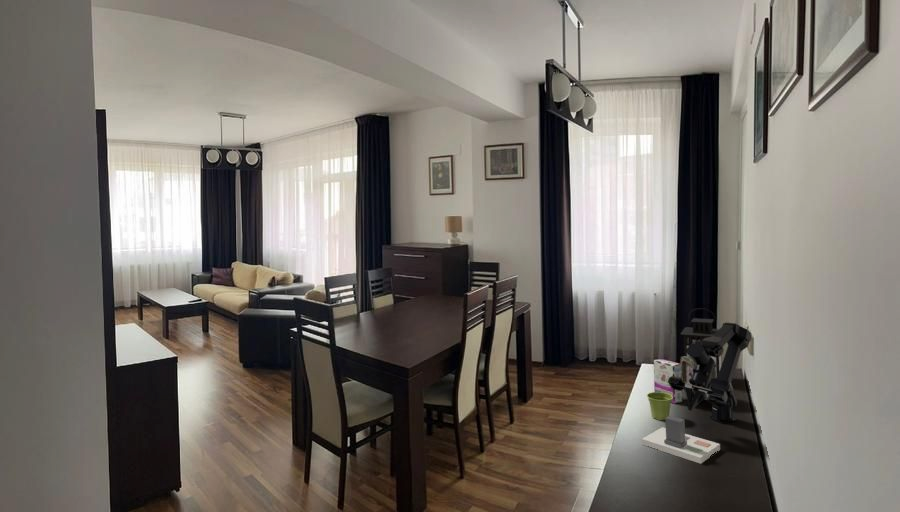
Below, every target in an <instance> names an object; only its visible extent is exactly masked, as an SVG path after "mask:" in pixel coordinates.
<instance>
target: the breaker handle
mask: <svg viewBox="0 0 900 512" xmlns="http://www.w3.org/2000/svg"><path fill="white" fill-rule="evenodd" d="M685 423H686V422H685V419H684V418H680V417H676V416H672V415H669V416H668V417H667V418H666V420H665V428H666V439H665V440H664V443H666V444H669V445H672V446H675V447H679V448H682V447H683V446H685V445H686V444H687V441H685V434H686V425H685Z"/></svg>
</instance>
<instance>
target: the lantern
mask: <svg viewBox="0 0 900 512" xmlns="http://www.w3.org/2000/svg"><path fill="white" fill-rule="evenodd" d="M695 310H705V311H708V312H710V313H711V314H712V315H713V316H714V318H712V319H711V318H696V317H694V318H692V320H691V319H690V317H688V320H689V321H690V322H691V323H692V327H688V326H686V327H684V329H683V330H682V331H681V333H680V335H683V351H684V355H683V356H689V355H688V354H687V348H688V347H689V346H690V345H691V344H693V341H701V340H703V339H704V338H708V337H712V336H713V335H714V334H715V333H716V332H717V331H718V330H719V329H720V328H713V323H715V322H716V315H715V314H714V312H712V311H711V310H710V309H707V308H702V307H700V308H694V309H692V310H691V311H690V312H689V313H688V316H691V313H692V312H694V311H695ZM694 343H695V342H694ZM709 357H711V356H709ZM711 358H712V359H714V361H715V364H716V367H715V369H716V378H717V377H718V375H719V371H720V368H721V365H722V362H723V359H722V358H723V354H722V355H721V356H720V357H719V358H717V357H711Z"/></svg>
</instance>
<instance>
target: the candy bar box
mask: <svg viewBox="0 0 900 512" xmlns="http://www.w3.org/2000/svg"><path fill="white" fill-rule="evenodd" d="M671 376H674V377H678V378H681V379H682V367H681V364H680V362H679V363H678V362H674V361H671V360H668V359H663V358H658V359H654V360H653V383H654V385H653V386H654V392H663V393H667V394H670V395H672V396H673V399H672V401H671V403H672V404H679V403H683V390H681V391H679V390H675V389H672V388H671V386H670V385H669V383H668V379H669V378H670V377H671Z"/></svg>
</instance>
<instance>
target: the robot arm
mask: <svg viewBox="0 0 900 512" xmlns="http://www.w3.org/2000/svg"><path fill="white" fill-rule="evenodd" d="M718 329H719V330H718V331H717V332H716V333H715V334H714V335H713V336H712V337H708V338H704V339H703V340H701V341H695V343H694V344H691V345H690V346H689V347H688V348H687V354H688V355H689V357H690V358H691V359H692V361H693V362H694V363H695V364H696V365H695V368H694V369H693V370H692V371H693V374H692V377H691V379H689V382H690V383H684V382H683V381H682V379H681V378H678V377H674V376H671V377H670V378H669V379H668V383H669V385H670V386H671V388H672V389H675V390H679V391H681V390H682V391H683V390H684V393H685V392H686V394H685V395H686V397H687V399H686V400H687V409H688V410H687V411H688V412H692V411H694V410H695V408H696V407H697V406H698V405H699V404H700V403H701V402H702V401H704V400H705V401H708V403H711V404H712V407H711V415H710V416H709V418H710V419H712V420H715V421H716V422H718V423H721V424H727V423H731V422H737V419H736V418H734V417H733V408H737V405H738V398H737V397H736V395H735V393H734V388H733V385H732V381H733V378H734V375H735V372H736V370H737V369H736V368H737V365H738V362H739V359H740V356H741V352H742V351H743V350H745V349H747V348H748V346H749V345H750V342H751V341H752V337H753V336H752V333H751V331H750V330H749V329H747V328H745V327H743V326H740V325H739V324H738V323H736V322H735V323H734V322H728V321H727V322H723V323H722V326H721V327H720V328H718ZM726 344H727V349H726V351H725V350H724V346H725V345H726ZM724 351H725V354H724V357H723V359H722V365H721V368H720V371H719V375H718V377H717V378H712V379H711V378H710V377H711V374H712V371H713V368H714V367H716V364H715V361H714V359H712V358H711V357H717V358H719V357H720V356H721V355H722V356H723V353H724ZM709 356H711V357H709ZM694 393H695V394H694Z"/></svg>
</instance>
